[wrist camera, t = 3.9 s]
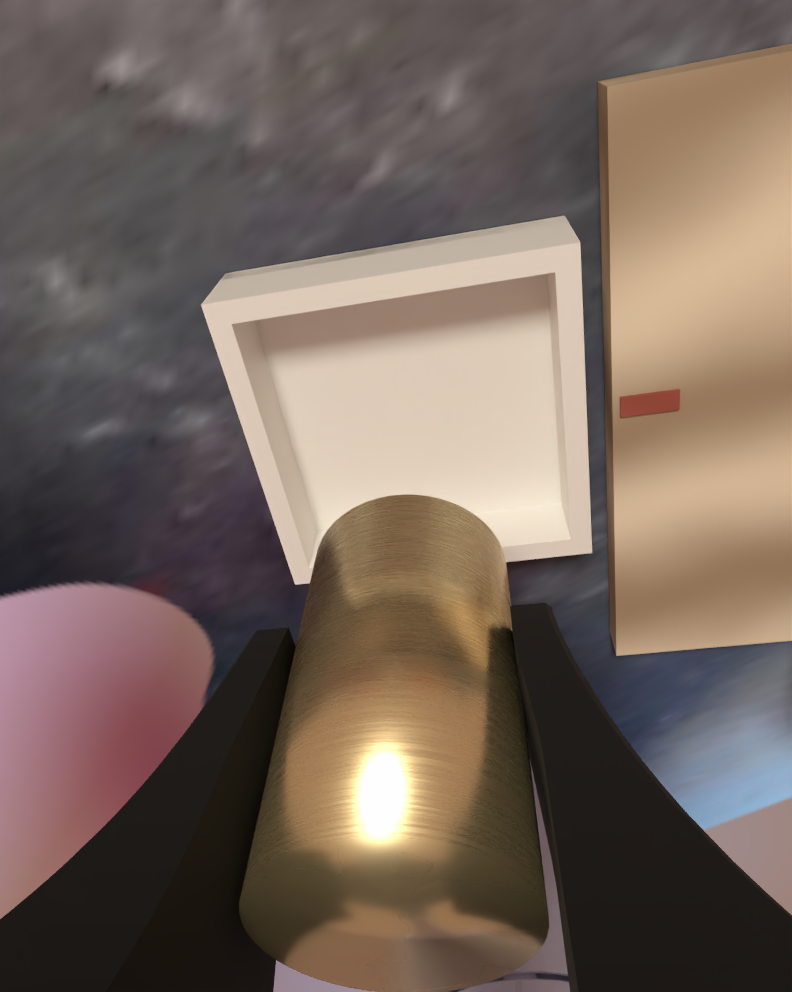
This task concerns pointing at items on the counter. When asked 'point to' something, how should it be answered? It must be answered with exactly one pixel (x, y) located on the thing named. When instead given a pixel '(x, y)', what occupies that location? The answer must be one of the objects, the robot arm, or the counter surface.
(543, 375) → the tray
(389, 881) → the brass cylinder
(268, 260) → the counter surface
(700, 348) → the crank board
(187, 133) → the counter surface
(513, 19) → the counter surface
